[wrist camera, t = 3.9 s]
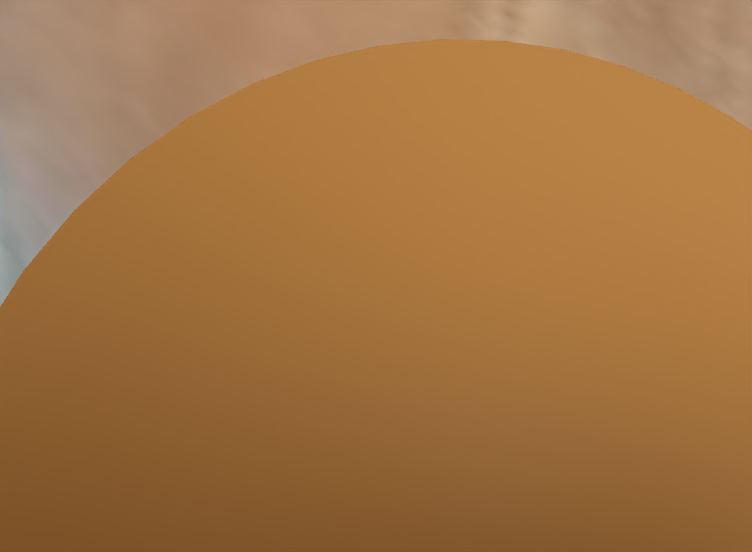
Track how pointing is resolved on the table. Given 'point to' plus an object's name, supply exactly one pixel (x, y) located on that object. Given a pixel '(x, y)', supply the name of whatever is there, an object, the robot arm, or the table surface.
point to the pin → (397, 321)
